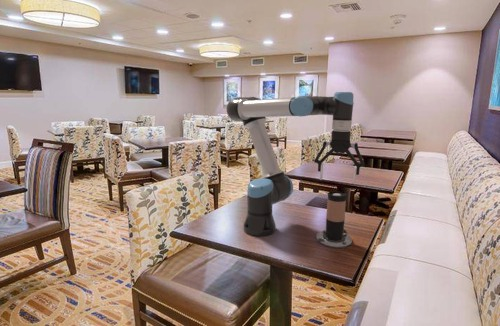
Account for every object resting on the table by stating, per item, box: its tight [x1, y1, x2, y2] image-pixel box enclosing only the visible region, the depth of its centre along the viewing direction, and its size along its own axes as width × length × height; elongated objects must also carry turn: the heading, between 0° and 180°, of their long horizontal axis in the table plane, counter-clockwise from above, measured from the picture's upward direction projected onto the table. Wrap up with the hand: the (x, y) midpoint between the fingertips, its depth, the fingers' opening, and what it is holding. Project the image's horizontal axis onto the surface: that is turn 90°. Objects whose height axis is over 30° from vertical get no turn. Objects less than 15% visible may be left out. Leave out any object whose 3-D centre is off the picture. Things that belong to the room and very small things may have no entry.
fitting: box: [316, 229, 353, 249], centre depth 142 cm, size 15×22×6 cm
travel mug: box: [325, 190, 347, 241], centre depth 137 cm, size 8×8×20 cm
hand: (337, 180), depth 134 cm, fingers open, 13 cm apart
